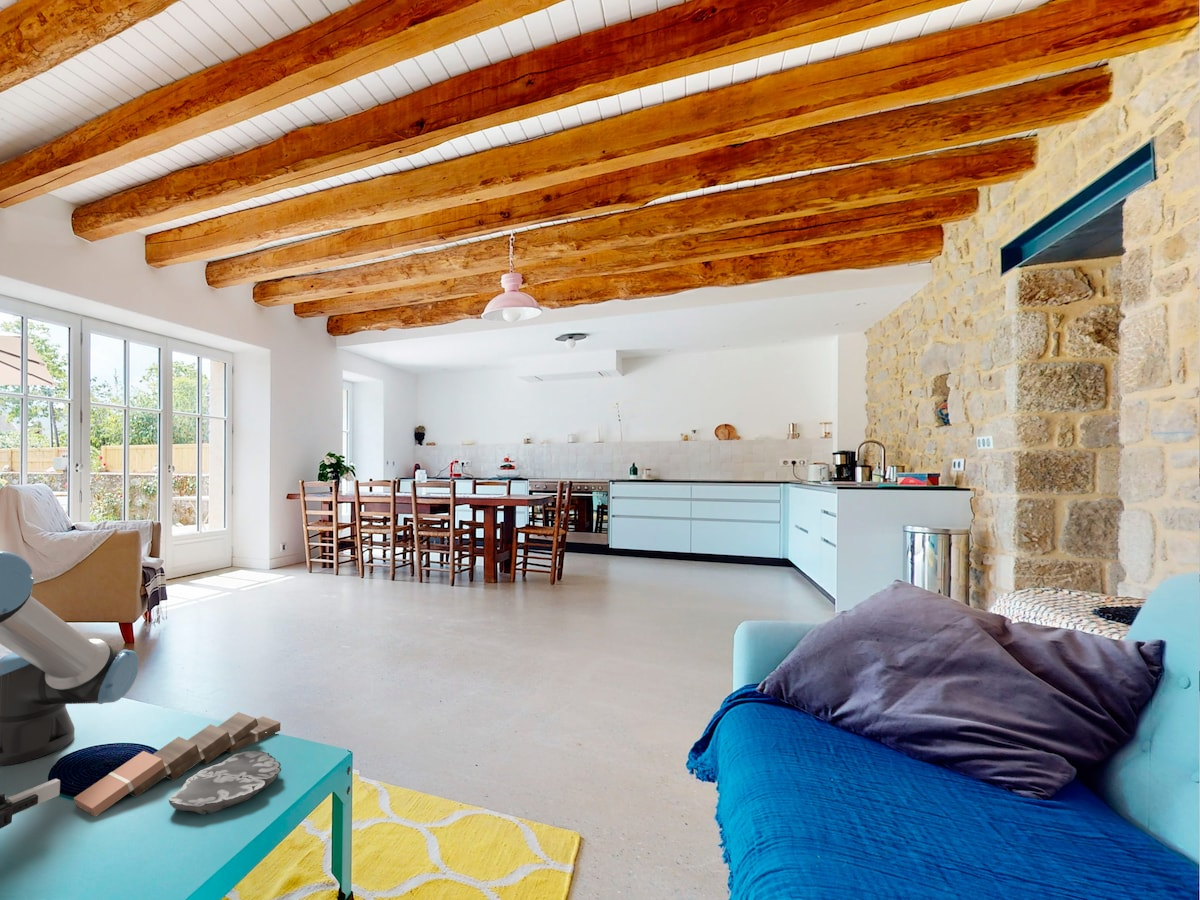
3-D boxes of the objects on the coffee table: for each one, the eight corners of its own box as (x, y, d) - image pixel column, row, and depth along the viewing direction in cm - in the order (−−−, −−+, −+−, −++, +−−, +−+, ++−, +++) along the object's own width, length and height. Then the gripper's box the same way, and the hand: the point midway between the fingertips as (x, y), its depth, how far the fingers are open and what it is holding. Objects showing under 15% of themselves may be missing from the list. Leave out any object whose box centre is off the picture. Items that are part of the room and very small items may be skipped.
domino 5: (231, 744, 126) (280, 722, 137) (213, 737, 129) (262, 716, 140) (230, 753, 126) (280, 730, 137) (212, 746, 129) (262, 724, 140)
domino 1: (92, 808, 102) (162, 758, 113) (73, 797, 105) (143, 750, 116) (95, 816, 103) (165, 766, 113) (77, 806, 106) (146, 758, 116)
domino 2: (133, 789, 108) (196, 744, 119) (115, 779, 112) (178, 736, 122) (136, 797, 109) (199, 751, 119) (118, 787, 112) (181, 743, 122)
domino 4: (204, 756, 120) (256, 718, 131) (186, 748, 124) (238, 711, 134) (207, 764, 121) (258, 725, 131) (189, 756, 124) (240, 718, 134)
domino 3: (170, 772, 114) (227, 731, 125) (152, 763, 117) (210, 724, 128) (173, 780, 115) (230, 738, 125) (155, 771, 118) (212, 731, 128)
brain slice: (234, 826, 102) (234, 810, 102) (152, 818, 103) (152, 802, 104) (301, 767, 121) (302, 754, 121) (231, 761, 123) (232, 748, 123)
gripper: (-174, 886, 81) (38, 797, 103) (-140, 917, 76) (75, 816, 98) (-171, 836, 81) (40, 758, 103) (-137, 862, 76) (77, 775, 98)
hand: (57, 786), depth 100 cm, fingers closed
